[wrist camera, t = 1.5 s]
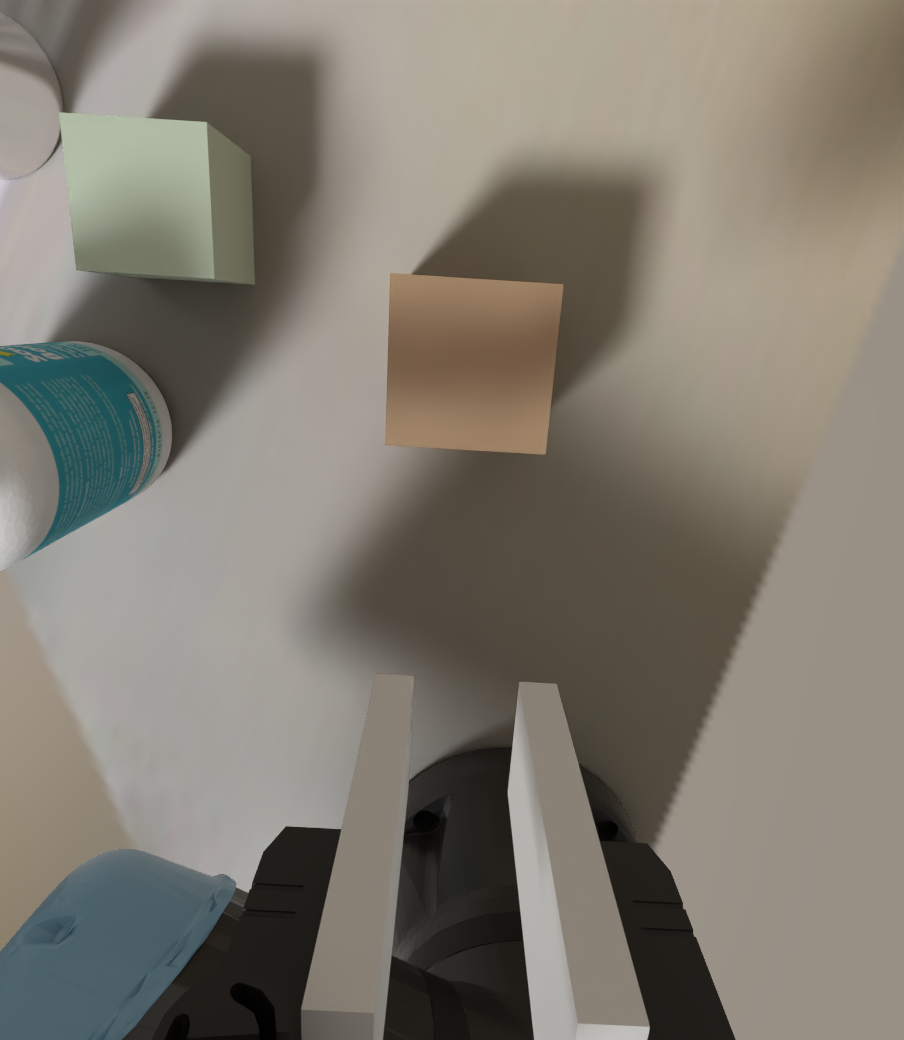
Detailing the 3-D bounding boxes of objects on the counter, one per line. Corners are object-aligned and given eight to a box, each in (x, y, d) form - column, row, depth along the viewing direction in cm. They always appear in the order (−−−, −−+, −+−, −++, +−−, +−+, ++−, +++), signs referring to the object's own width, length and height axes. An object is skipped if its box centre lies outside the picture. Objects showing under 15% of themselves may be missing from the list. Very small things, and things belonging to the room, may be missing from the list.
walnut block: (528, 427, 30) (545, 454, 24) (399, 419, 30) (385, 444, 24) (541, 290, 28) (563, 284, 22) (403, 282, 28) (390, 273, 22)
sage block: (255, 285, 28) (214, 278, 23) (140, 277, 28) (76, 270, 23) (251, 156, 27) (206, 121, 22) (130, 148, 26) (58, 112, 22)
